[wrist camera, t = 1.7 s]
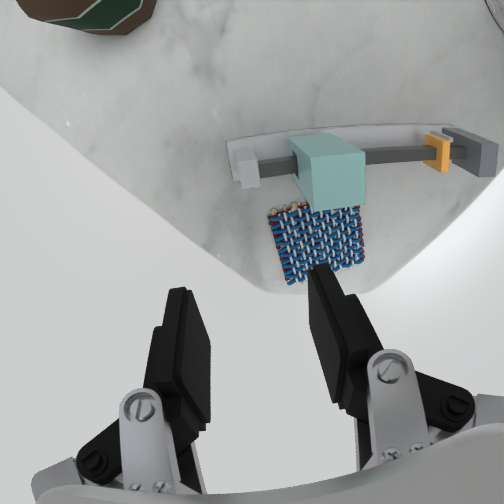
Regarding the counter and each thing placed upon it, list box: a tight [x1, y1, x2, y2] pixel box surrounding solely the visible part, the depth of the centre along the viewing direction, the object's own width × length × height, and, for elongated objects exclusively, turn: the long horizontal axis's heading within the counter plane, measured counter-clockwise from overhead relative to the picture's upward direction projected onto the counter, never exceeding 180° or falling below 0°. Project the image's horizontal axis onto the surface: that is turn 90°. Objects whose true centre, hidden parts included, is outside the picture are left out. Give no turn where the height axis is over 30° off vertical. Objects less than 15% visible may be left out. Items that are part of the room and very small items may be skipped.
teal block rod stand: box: [226, 124, 499, 190], centre depth 25 cm, size 28×4×8 cm, turn 98°
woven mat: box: [268, 202, 365, 285], centre depth 34 cm, size 10×11×2 cm
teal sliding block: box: [288, 133, 366, 212], centre depth 23 cm, size 4×4×7 cm
